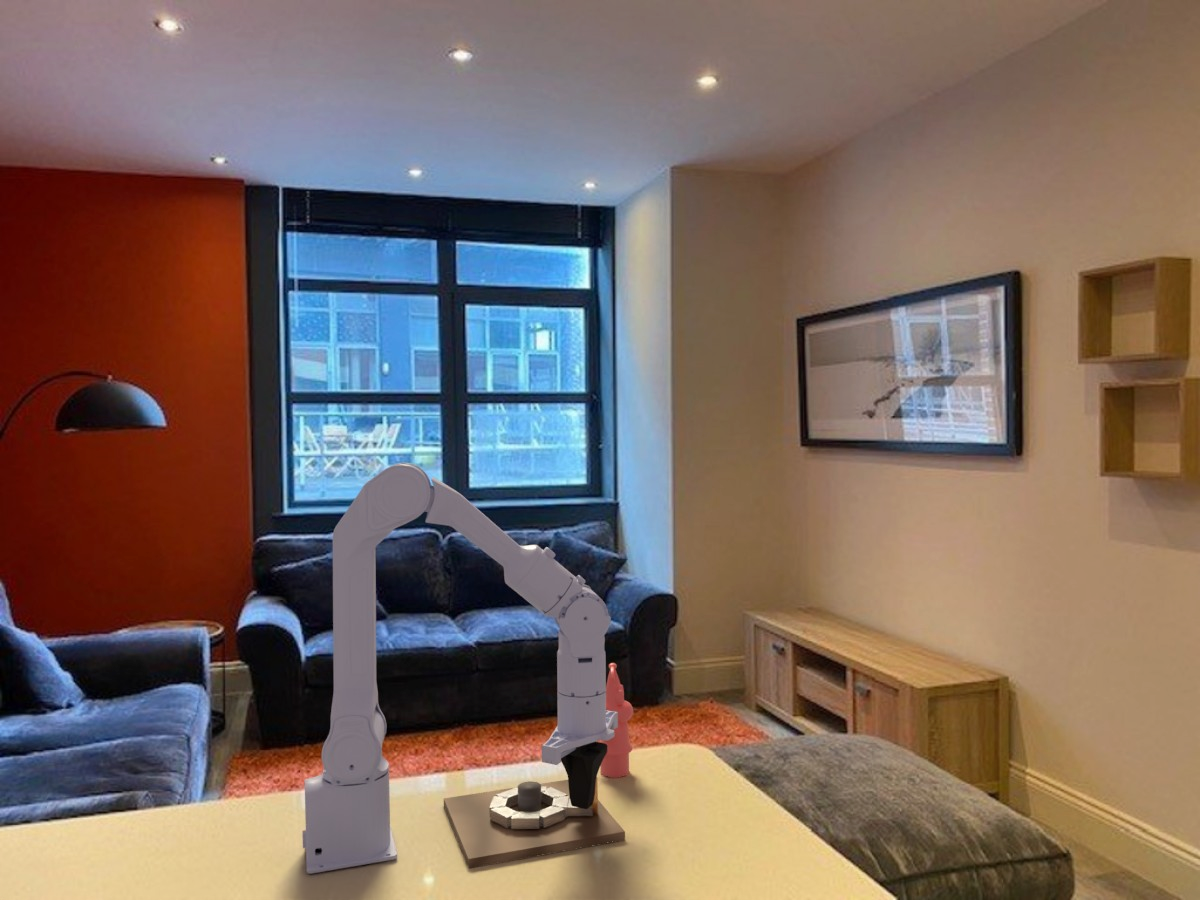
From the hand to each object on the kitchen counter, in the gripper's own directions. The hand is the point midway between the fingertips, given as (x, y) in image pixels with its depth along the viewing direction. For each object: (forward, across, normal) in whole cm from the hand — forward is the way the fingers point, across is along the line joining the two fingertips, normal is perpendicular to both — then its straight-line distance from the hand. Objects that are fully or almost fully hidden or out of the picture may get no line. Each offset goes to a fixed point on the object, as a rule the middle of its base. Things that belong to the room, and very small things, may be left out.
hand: (582, 805), depth 103 cm
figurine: (+3, +17, +5) cm, 18 cm away
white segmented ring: (+1, -1, +5) cm, 5 cm away
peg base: (+3, -1, +6) cm, 7 cm away
